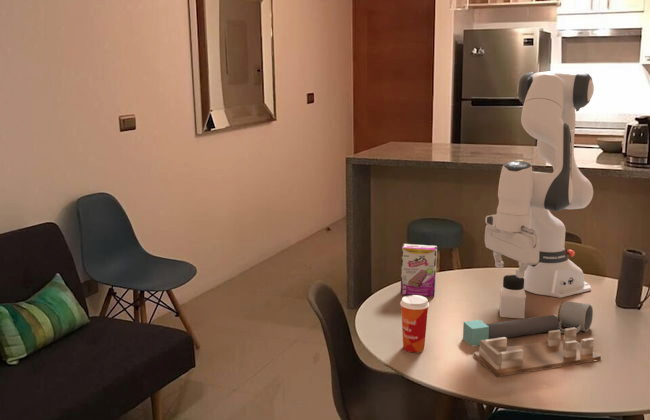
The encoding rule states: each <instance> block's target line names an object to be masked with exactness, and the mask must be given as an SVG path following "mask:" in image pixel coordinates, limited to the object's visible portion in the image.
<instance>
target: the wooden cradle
mask: <svg viewBox="0 0 650 420" xmlns="http://www.w3.org/2000/svg"><path fill="white" fill-rule="evenodd" d="M564 330H565V332H564V334H563V335H564V336H563V338H561V333H562V332H561V331H560V330H559V329H558V330H553V331H549V332H547V333H548V334H547V336H548V337H547V340H546V341H541V342H535V343H534V342H532V343H527V344H526V343H525V344H522V345H521V344H520V345H514V346H508V347H507V345H508V344H507V343H508V337H507V338H506V337H501V338H494V339H487V340H480V345H479V351H474V352H473V357H474V358H475V359H476V360H477V361H479V362H480V363H481V364H482V365H484V366H485V368H487V369H488V370H489V371H490V372H491V373H493V374H494V375H495V376H496V377H504V376H510V375H515V374H516V375H517V374H524V373H528V372H535V371H539V370H540V371H542V370H547V369H553V368H559V367H564V366H571V365H577V364H583V363H584V362H585V363H589V361H591V362H595V361H594V360H597V361H602V360H601V359H602V356H601V355H600V354H598V353H596V352H595V351H594V344H595V343H594V341H595V339H594V338H592V337H588V338H582V339H581V341H580V342H579V341H578V340H577V333H576V331H577V329H576V328H575V327H574V328H570V327H566V328H564Z"/></svg>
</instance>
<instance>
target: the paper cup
mask: <svg viewBox="0 0 650 420" xmlns="http://www.w3.org/2000/svg"><path fill="white" fill-rule="evenodd" d="M401 298H402V299H401V301H400V302H399V304H400V308H401V328H402V329H401V330H402V331H401V332H402V346H403V347H402V348H403V350H404V351H406V352H408V353H413V354H415V353H416V354H417V353H421V352H423V351H424V350H425V344H426V333H427V324H428V311H429V307H430V302H429V300H428V297H424V296H419V295H412V296H411V295H406V296H403V297H401Z"/></svg>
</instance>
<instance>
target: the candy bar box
mask: <svg viewBox="0 0 650 420" xmlns="http://www.w3.org/2000/svg"><path fill="white" fill-rule="evenodd" d="M437 255H438V245H429V244H428V245H427V244H417V243H416V244H415V243H414V244H413V243H403V244H402V247H401V268H400V271H401V272H400V273H401V274H400V296H410V295H411V296H412V295H419V296H423V297H425V298H434V297H435V293H436V279H437V277H436V276H437V258H438V257H437Z"/></svg>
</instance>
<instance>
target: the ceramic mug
mask: <svg viewBox="0 0 650 420" xmlns="http://www.w3.org/2000/svg"><path fill="white" fill-rule="evenodd" d="M557 309H558V310H557V315H556V317H557V318H558V321H559V328H558V330H560V331H561V333H562V334H563V335H564V332H565V329H563V328H562V327H561V326H563V327H566V328H574V327H575V328H576V329H577V331H576V334H578V333H579V332H580V331H582V332H588V331H590V328H591V326H592V322H593V317H594V311H593V305H591V303H590V304H589V303H581V302H577V301H575V302H574V301H562V302H561V303H560V304H559V307H558V308H557Z"/></svg>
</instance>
